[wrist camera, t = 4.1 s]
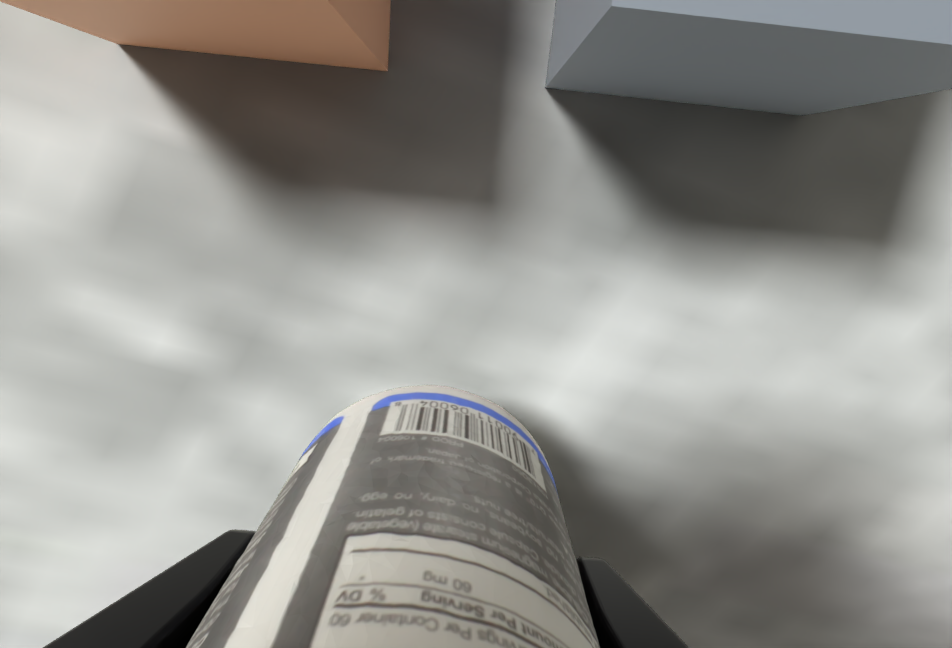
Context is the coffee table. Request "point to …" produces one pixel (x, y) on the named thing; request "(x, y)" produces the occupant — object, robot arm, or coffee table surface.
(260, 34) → the terracotta block
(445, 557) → the pill bottle
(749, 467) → the coffee table surface
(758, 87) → the slate-grey block
